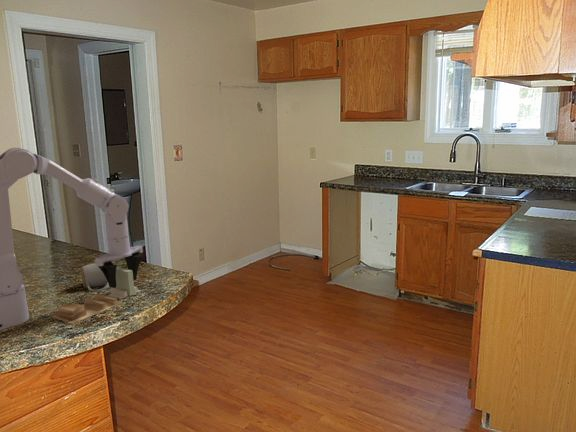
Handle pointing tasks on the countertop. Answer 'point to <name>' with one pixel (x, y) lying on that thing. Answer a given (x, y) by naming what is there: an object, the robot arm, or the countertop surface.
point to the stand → (120, 293)
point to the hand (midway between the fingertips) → (123, 283)
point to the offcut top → (71, 309)
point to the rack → (93, 306)
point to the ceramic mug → (93, 277)
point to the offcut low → (72, 317)
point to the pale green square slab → (125, 280)
